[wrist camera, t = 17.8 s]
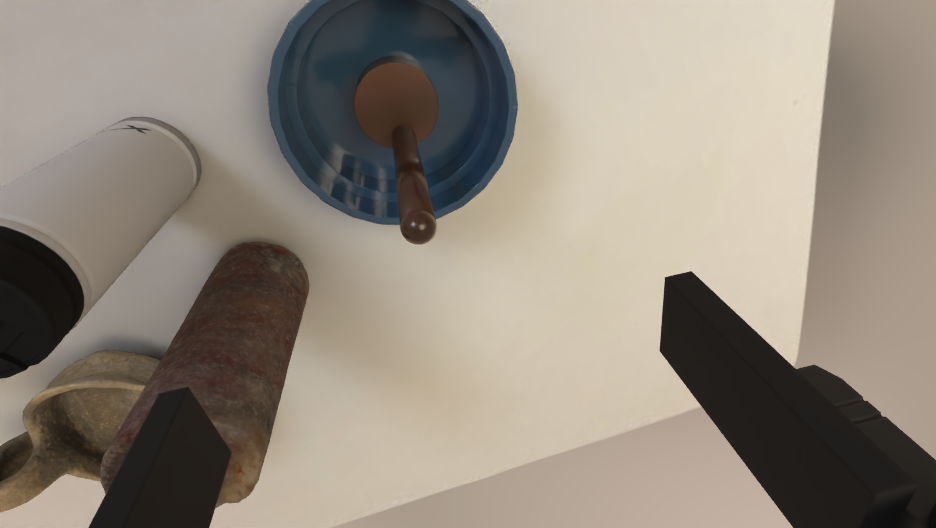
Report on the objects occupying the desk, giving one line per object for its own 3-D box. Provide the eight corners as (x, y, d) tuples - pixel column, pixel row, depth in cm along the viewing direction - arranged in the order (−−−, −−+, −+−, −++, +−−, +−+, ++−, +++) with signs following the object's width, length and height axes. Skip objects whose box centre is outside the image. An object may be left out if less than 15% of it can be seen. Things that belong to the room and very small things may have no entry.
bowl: (251, 422, 49) (225, 515, 40) (69, 457, 47) (3, 562, 39) (197, 314, 42) (151, 400, 33) (-19, 353, 40) (-125, 453, 32)
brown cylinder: (208, 234, 38) (72, 440, 21) (304, 230, 39) (248, 423, 22) (229, 312, 42) (128, 539, 25) (316, 306, 43) (276, 520, 26)
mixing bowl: (249, -4, 31) (223, 0, 26) (482, -47, 31) (502, -52, 26) (324, 210, 39) (316, 245, 34) (507, 171, 39) (527, 199, 34)
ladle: (345, 64, 33) (319, 138, 18) (426, 48, 33) (466, 109, 18) (367, 143, 36) (360, 264, 21) (440, 128, 36) (486, 237, 21)
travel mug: (134, 92, 32) (-135, 219, 15) (220, 162, 35) (77, 331, 18) (79, 154, 34) (-223, 334, 17) (167, 216, 37) (-11, 420, 20)
